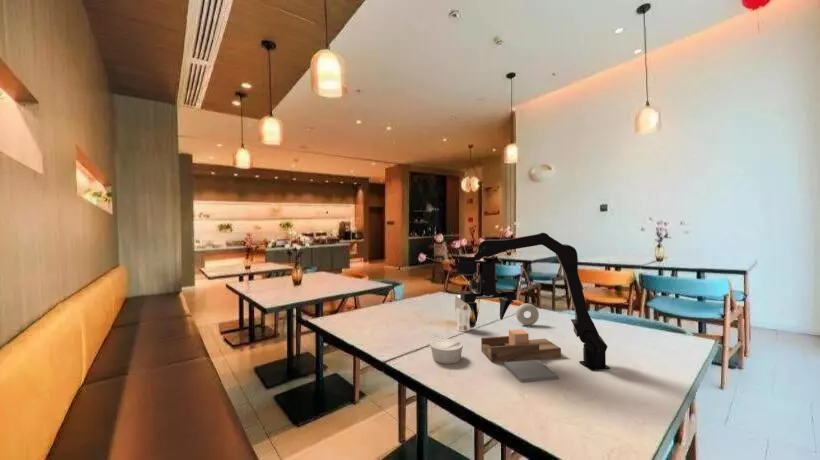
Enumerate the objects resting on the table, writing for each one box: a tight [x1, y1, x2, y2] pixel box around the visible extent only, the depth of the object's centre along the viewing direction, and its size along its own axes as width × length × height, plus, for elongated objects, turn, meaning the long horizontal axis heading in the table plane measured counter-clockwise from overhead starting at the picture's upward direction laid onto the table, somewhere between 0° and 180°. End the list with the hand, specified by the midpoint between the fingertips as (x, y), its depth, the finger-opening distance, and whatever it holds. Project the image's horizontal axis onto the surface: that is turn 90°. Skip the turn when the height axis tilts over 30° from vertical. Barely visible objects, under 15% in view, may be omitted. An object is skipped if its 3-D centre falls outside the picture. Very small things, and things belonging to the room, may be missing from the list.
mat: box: [503, 359, 560, 383], centre depth 106 cm, size 12×12×1 cm
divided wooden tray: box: [480, 335, 562, 363], centre depth 120 cm, size 10×25×5 cm, turn 98°
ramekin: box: [429, 338, 464, 365], centre depth 118 cm, size 11×11×5 cm
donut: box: [515, 303, 540, 327], centre depth 153 cm, size 10×3×10 cm, turn 84°
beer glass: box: [454, 294, 472, 333], centre depth 149 cm, size 7×7×15 cm
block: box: [508, 329, 530, 345], centre depth 120 cm, size 5×5×5 cm
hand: (488, 320), depth 119 cm, fingers open, 9 cm apart
